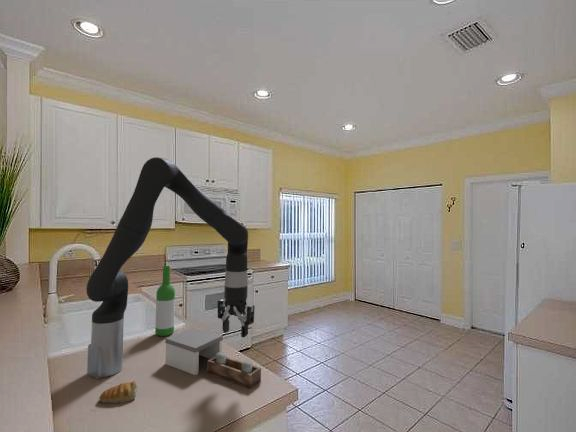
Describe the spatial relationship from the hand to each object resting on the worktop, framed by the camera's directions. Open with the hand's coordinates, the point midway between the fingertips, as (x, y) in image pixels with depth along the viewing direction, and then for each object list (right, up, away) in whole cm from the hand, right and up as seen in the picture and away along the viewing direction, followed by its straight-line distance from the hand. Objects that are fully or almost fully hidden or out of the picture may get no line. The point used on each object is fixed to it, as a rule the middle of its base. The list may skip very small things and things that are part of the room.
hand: (234, 334), depth 99 cm
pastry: (-30, -13, -13) cm, 36 cm away
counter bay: (-16, -14, +9) cm, 23 cm away
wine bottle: (-38, -14, +35) cm, 53 cm away
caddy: (0, -14, 0) cm, 14 cm away
